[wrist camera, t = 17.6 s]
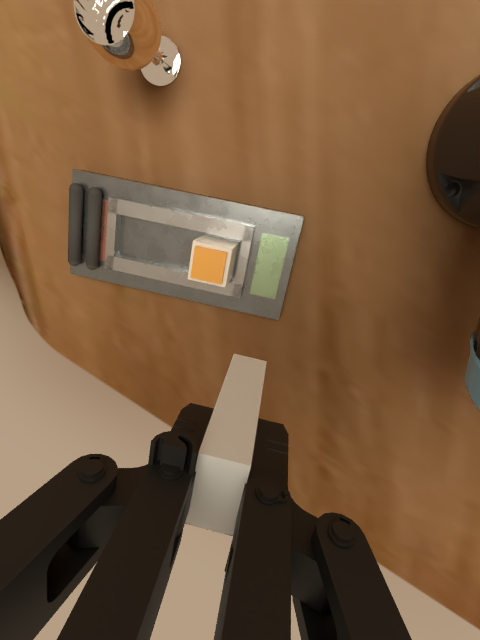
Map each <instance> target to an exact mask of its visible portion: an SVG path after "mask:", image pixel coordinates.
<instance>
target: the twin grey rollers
mask: <svg viewBox="0 0 480 640" xmlns="http://www.w3.org/2000/svg"><path fill="white" fill-rule="evenodd" d="M101 205H102V192H101V190H100V189H99V188H97V187H92V188H90V189H89V192H88V216H87V242H86V267H87V268H88V269H90V270H95V269H97V267H98V264H99V244H100V225H101ZM82 213H83V187H82V186H81V185H80V184H78V183H73V184H71V185H70V188H69V233H68V262H69V264H70V265H72V266H78V265H79V264H80V262H81V243H82Z"/></svg>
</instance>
